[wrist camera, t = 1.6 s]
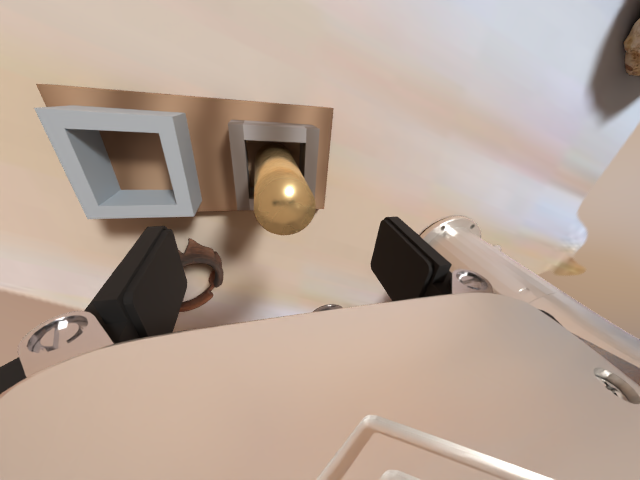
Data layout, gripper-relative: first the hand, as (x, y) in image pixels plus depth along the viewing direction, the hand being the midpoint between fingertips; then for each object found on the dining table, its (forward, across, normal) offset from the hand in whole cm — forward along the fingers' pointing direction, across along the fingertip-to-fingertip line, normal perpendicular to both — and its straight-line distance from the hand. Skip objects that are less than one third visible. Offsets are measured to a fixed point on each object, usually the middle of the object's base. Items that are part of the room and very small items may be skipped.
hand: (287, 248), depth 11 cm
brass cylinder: (+17, -1, 0) cm, 17 cm away
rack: (+17, +11, 0) cm, 21 cm away
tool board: (+19, +5, 0) cm, 19 cm away
